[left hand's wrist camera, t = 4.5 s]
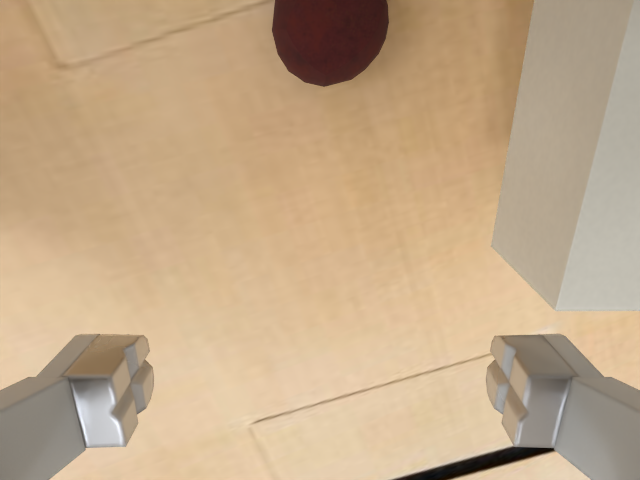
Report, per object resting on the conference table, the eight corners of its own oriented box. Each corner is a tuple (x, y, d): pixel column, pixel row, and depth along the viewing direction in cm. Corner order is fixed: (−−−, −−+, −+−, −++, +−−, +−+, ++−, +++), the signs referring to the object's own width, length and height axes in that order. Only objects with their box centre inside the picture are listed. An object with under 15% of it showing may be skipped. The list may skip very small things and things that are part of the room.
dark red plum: (399, 25, 31) (423, 15, 25) (324, 105, 33) (328, 115, 27) (327, -60, 29) (333, -95, 23) (251, 31, 31) (237, 22, 25)
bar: (561, 246, 29) (650, 311, 21) (490, 246, 29) (555, 311, 21) (701, -332, 18) (968, -600, 11) (592, -336, 18) (788, -610, 11)
